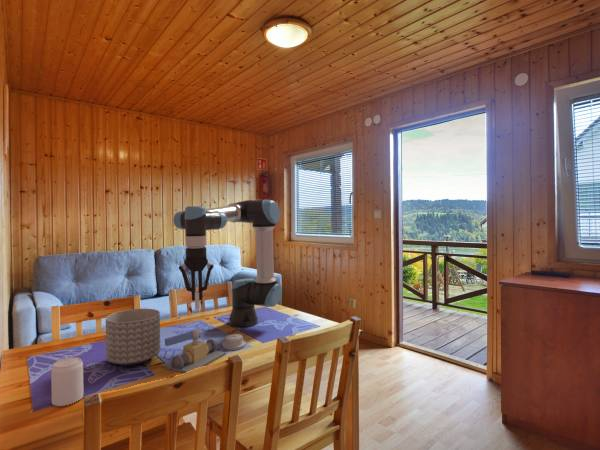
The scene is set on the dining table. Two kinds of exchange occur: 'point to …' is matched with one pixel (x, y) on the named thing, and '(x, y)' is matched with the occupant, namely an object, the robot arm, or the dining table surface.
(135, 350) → the planter
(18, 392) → the dining table surface
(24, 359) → the dining table surface
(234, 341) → the mechanical component
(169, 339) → the lever
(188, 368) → the valve assembly
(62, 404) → the beverage can
